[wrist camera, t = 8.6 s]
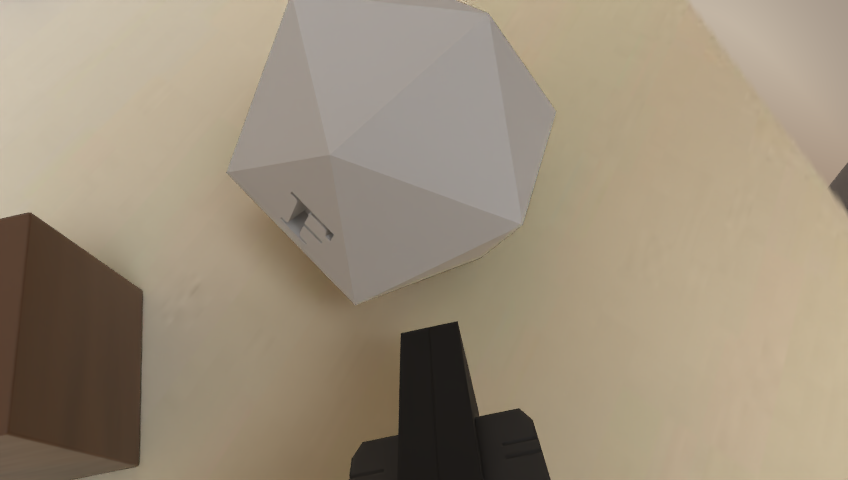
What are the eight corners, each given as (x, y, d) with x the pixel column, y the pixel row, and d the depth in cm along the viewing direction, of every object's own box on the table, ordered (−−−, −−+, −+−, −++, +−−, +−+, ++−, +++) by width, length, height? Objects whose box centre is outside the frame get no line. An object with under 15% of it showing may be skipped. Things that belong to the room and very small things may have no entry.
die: (286, 139, 27) (102, 162, 17) (439, -49, 24) (319, -145, 14) (439, 294, 26) (338, 408, 17) (615, 124, 23) (613, 144, 14)
